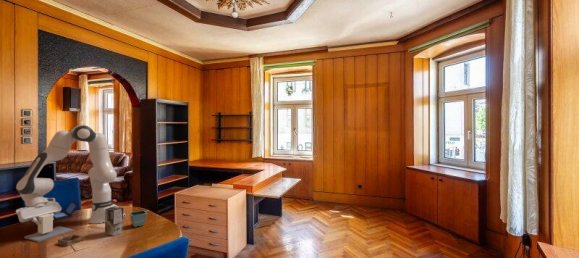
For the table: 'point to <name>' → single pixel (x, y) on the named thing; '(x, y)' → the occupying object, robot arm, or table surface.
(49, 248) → the table surface
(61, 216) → the handheld game console
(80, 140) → the robot arm
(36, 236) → the slate board
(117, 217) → the coffee box
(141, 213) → the flower pot
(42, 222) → the cream block
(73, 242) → the walnut pocket
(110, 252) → the table surface
